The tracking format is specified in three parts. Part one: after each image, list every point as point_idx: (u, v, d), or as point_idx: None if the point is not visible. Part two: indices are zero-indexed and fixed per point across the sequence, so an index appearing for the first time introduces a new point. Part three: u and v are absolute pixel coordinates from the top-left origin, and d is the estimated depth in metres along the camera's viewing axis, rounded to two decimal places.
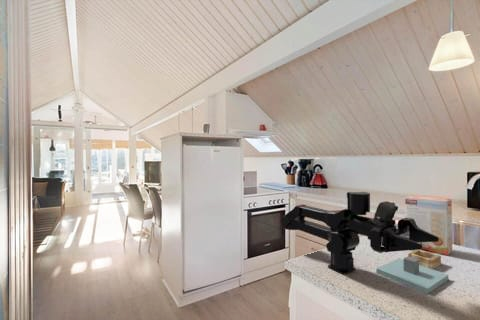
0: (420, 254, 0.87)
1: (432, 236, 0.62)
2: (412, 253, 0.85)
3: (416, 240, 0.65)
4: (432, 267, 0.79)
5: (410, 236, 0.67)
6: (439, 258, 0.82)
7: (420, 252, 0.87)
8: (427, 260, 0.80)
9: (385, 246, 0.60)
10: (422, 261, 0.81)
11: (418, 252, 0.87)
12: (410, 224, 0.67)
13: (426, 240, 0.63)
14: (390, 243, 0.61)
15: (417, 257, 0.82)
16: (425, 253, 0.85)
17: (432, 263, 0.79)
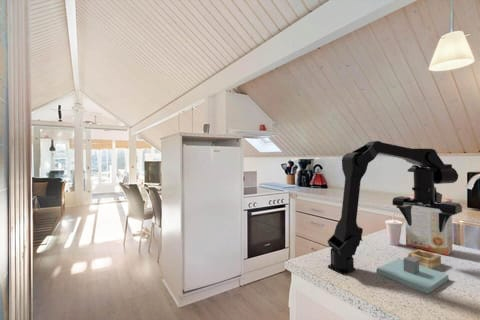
0: (420, 254, 0.87)
1: (411, 222, 0.87)
2: (412, 253, 0.85)
3: (406, 212, 0.86)
4: (432, 267, 0.79)
5: (406, 208, 0.87)
6: (439, 258, 0.82)
7: (420, 252, 0.87)
8: (427, 260, 0.80)
9: (451, 215, 0.75)
10: (422, 261, 0.81)
11: (418, 252, 0.87)
12: (411, 206, 0.89)
13: (408, 219, 0.87)
14: None
15: (417, 257, 0.82)
16: (425, 253, 0.85)
17: (432, 263, 0.79)
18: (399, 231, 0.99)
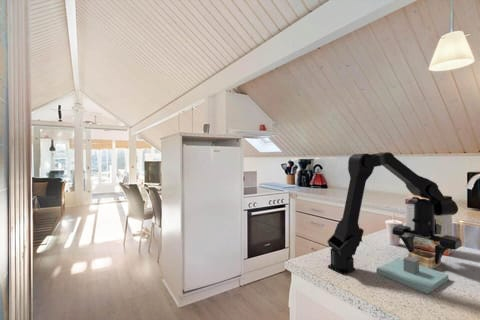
0: (420, 254, 0.87)
1: None
2: (412, 253, 0.85)
3: (409, 243, 0.86)
4: (432, 267, 0.79)
5: (409, 238, 0.86)
6: None
7: (420, 252, 0.87)
8: (427, 260, 0.80)
9: (447, 248, 0.77)
10: (422, 261, 0.81)
11: (418, 252, 0.87)
12: (413, 236, 0.88)
13: (411, 250, 0.86)
14: None
15: (417, 257, 0.82)
16: (425, 253, 0.85)
17: (432, 263, 0.79)
18: None
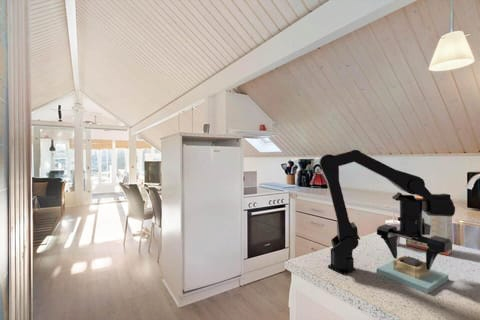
0: None
1: (396, 254, 0.79)
2: (398, 260, 0.76)
3: (391, 244, 0.78)
4: (419, 277, 0.70)
5: (391, 239, 0.78)
6: None
7: None
8: (413, 269, 0.71)
9: (440, 252, 0.67)
10: (408, 270, 0.72)
11: None
12: (397, 237, 0.80)
13: (394, 251, 0.78)
14: None
15: (403, 265, 0.74)
16: None
17: (419, 273, 0.70)
18: None
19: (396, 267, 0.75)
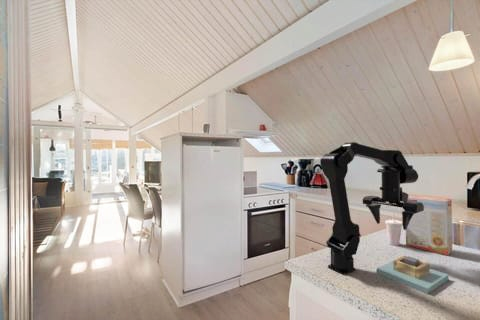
0: None
1: (379, 220, 0.91)
2: (398, 260, 0.76)
3: (374, 211, 0.90)
4: (419, 277, 0.70)
5: (375, 206, 0.91)
6: (427, 266, 0.73)
7: None
8: (413, 269, 0.71)
9: (413, 213, 0.80)
10: (408, 270, 0.72)
11: None
12: (380, 205, 0.93)
13: (377, 217, 0.91)
14: None
15: (403, 265, 0.74)
16: None
17: (419, 273, 0.70)
18: (399, 231, 0.99)
19: (396, 267, 0.75)
